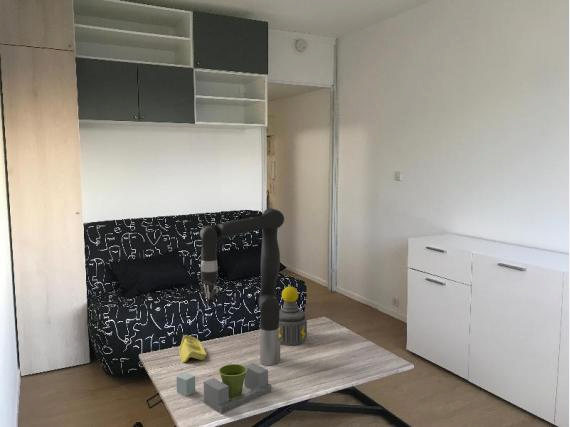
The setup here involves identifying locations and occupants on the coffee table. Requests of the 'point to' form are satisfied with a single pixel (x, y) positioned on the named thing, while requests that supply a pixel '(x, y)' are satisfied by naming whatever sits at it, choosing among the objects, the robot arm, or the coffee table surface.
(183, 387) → the block
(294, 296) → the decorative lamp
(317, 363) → the coffee table surface
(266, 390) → the rail strip
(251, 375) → the block
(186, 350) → the plastic component
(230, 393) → the plant pot
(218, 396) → the block
